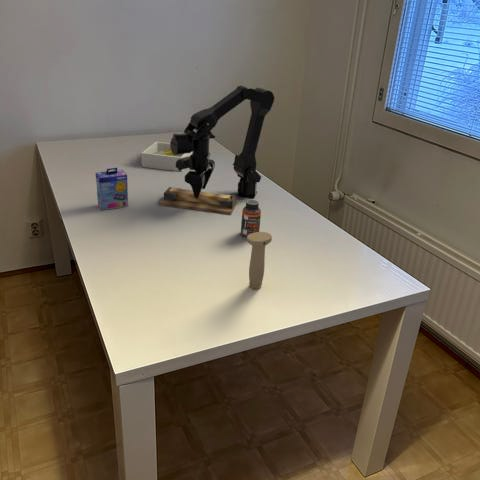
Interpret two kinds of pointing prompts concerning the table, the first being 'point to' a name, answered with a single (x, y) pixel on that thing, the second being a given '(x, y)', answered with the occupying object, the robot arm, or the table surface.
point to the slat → (203, 196)
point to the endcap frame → (224, 206)
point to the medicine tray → (160, 157)
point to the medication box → (165, 152)
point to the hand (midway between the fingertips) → (199, 193)
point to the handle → (257, 257)
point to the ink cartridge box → (112, 189)
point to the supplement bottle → (250, 218)
